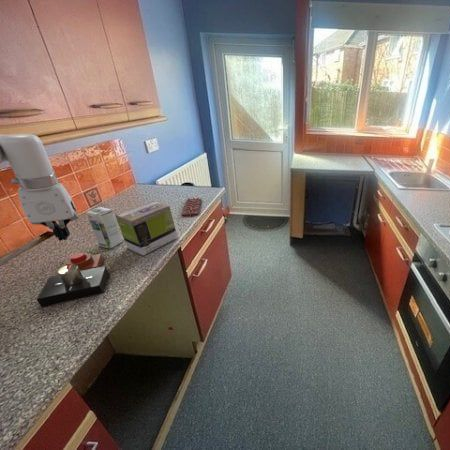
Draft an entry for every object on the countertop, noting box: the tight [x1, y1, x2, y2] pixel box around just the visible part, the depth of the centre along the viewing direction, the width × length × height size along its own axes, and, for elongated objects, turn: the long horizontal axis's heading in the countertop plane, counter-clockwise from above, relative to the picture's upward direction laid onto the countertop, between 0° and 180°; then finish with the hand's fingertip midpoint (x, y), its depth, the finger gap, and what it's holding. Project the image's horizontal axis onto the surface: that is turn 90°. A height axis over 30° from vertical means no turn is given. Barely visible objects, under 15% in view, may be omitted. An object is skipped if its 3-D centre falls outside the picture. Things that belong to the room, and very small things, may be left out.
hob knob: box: [57, 264, 83, 286], centre depth 73 cm, size 4×4×5 cm
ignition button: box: [69, 251, 86, 263], centre depth 82 cm, size 4×4×2 cm
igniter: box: [57, 252, 104, 275], centre depth 83 cm, size 10×8×4 cm
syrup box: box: [86, 206, 124, 250], centre depth 94 cm, size 6×6×14 cm
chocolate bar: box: [181, 197, 202, 217], centre depth 128 cm, size 7×19×2 cm, turn 15°
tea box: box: [115, 200, 178, 256], centre depth 95 cm, size 15×10×15 cm, turn 152°
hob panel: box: [36, 265, 109, 308], centre depth 75 cm, size 14×10×3 cm
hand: (64, 238), depth 77 cm, fingers closed
